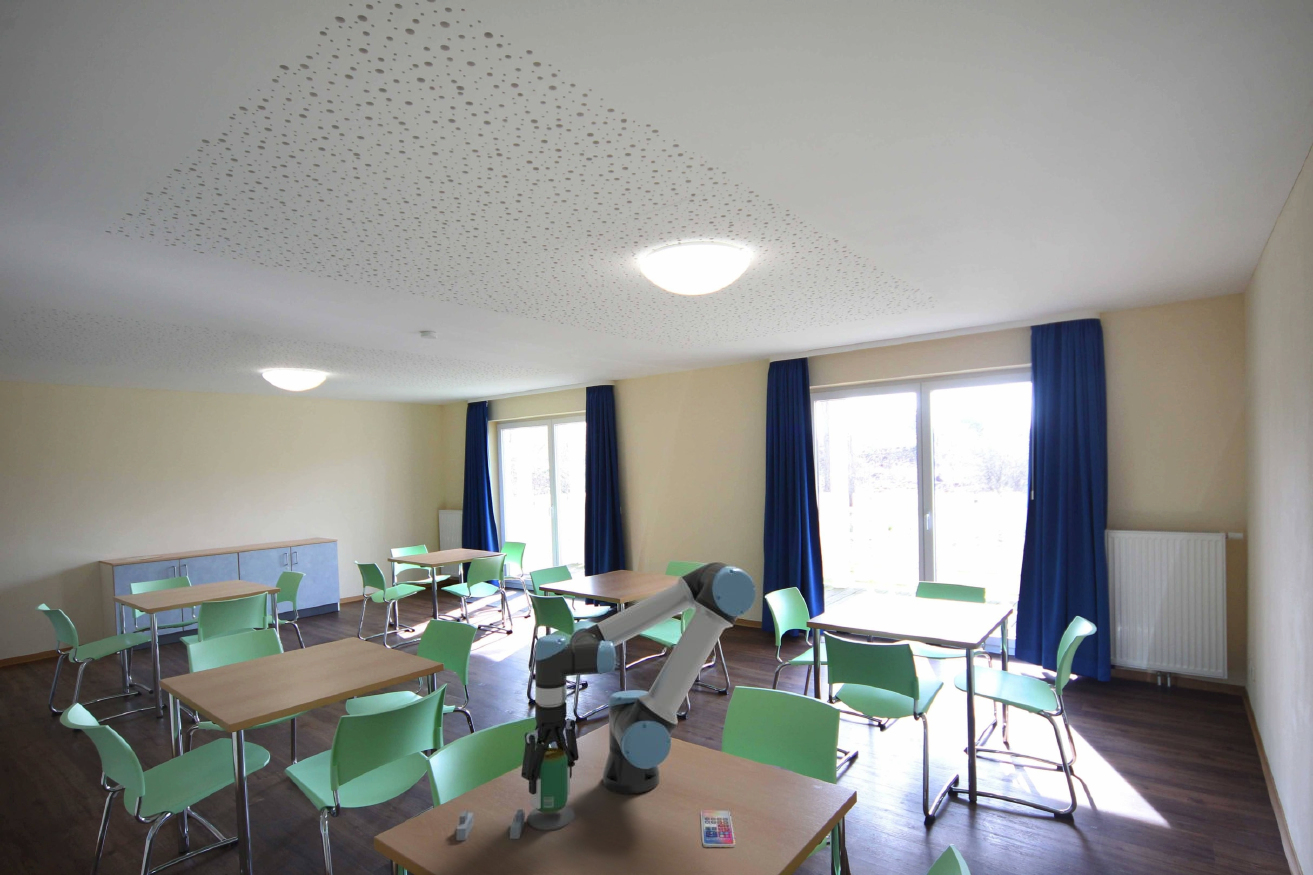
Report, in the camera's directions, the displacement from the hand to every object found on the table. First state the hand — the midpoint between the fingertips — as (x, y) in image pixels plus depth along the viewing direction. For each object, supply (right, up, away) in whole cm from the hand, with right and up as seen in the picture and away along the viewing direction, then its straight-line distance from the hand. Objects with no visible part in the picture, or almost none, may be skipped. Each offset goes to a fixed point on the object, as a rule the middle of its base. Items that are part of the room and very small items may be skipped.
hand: (550, 799), depth 151 cm
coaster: (0, -4, 0) cm, 4 cm away
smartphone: (+39, -4, -6) cm, 40 cm away
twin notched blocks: (-13, -4, -6) cm, 15 cm away
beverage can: (0, -1, 0) cm, 1 cm away
